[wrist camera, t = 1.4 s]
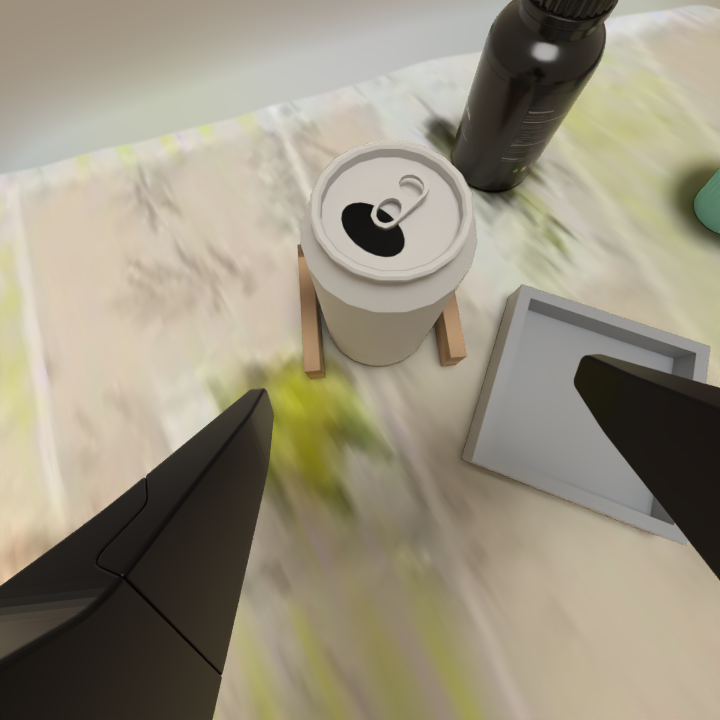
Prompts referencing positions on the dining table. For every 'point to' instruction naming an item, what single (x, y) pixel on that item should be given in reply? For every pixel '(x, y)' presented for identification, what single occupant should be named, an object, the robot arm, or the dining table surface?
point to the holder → (312, 334)
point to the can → (387, 246)
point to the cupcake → (709, 203)
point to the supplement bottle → (527, 86)
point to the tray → (569, 405)
